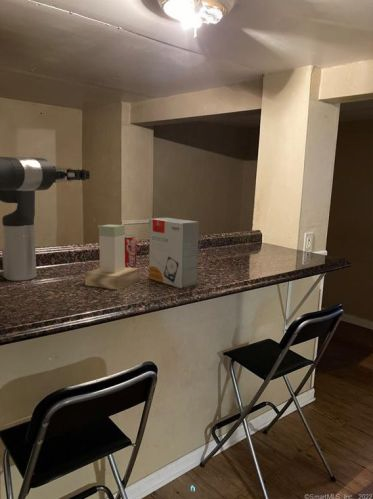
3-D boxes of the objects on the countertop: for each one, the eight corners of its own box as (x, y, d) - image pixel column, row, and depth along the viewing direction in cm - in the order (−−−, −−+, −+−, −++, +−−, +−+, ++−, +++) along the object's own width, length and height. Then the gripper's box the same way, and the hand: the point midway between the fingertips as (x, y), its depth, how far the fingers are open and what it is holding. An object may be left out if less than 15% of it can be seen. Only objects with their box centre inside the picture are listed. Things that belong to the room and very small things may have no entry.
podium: (85, 285, 120) (84, 272, 119) (108, 276, 130) (107, 265, 130) (118, 289, 115) (117, 276, 114) (139, 280, 126) (139, 268, 125)
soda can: (113, 271, 139) (113, 234, 136) (133, 269, 141) (133, 234, 139) (118, 275, 132) (118, 237, 130) (139, 274, 135) (139, 236, 133)
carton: (99, 271, 120) (98, 226, 118) (110, 267, 125) (109, 224, 123) (115, 273, 118) (114, 227, 116) (124, 269, 123) (124, 225, 121)
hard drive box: (148, 279, 128) (148, 218, 125) (165, 275, 133) (166, 217, 130) (180, 288, 117) (181, 222, 114) (198, 284, 122) (200, 220, 119)
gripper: (52, 157, 86) (97, 160, 101) (4, 157, 92) (53, 160, 106) (53, 191, 87) (97, 189, 102) (6, 189, 93) (55, 188, 108)
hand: (75, 174), depth 104 cm, fingers open, 8 cm apart
